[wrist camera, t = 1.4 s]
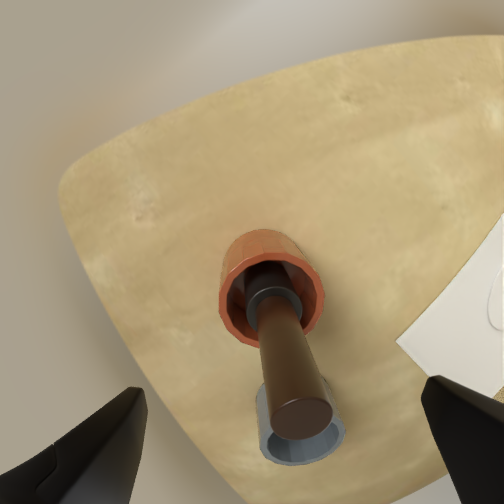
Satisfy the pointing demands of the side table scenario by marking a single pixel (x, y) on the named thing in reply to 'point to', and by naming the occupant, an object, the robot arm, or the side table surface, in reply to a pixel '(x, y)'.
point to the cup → (297, 449)
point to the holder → (255, 251)
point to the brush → (285, 355)
